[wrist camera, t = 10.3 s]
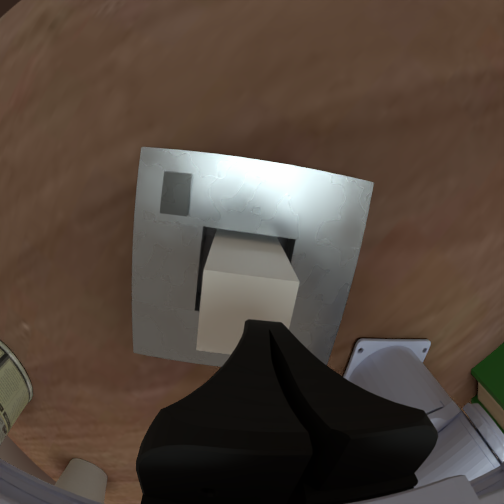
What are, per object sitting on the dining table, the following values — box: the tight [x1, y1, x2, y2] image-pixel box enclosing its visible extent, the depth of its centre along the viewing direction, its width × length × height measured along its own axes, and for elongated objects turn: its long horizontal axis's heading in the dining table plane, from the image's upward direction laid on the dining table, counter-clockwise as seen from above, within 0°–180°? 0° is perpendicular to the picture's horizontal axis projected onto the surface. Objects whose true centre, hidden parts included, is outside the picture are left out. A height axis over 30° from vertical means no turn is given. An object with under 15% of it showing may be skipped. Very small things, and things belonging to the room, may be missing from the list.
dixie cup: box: [55, 458, 107, 504], centre depth 24 cm, size 8×8×10 cm
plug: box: [196, 229, 299, 355], centre depth 17 cm, size 4×4×8 cm
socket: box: [132, 147, 374, 367], centre depth 20 cm, size 14×14×3 cm
